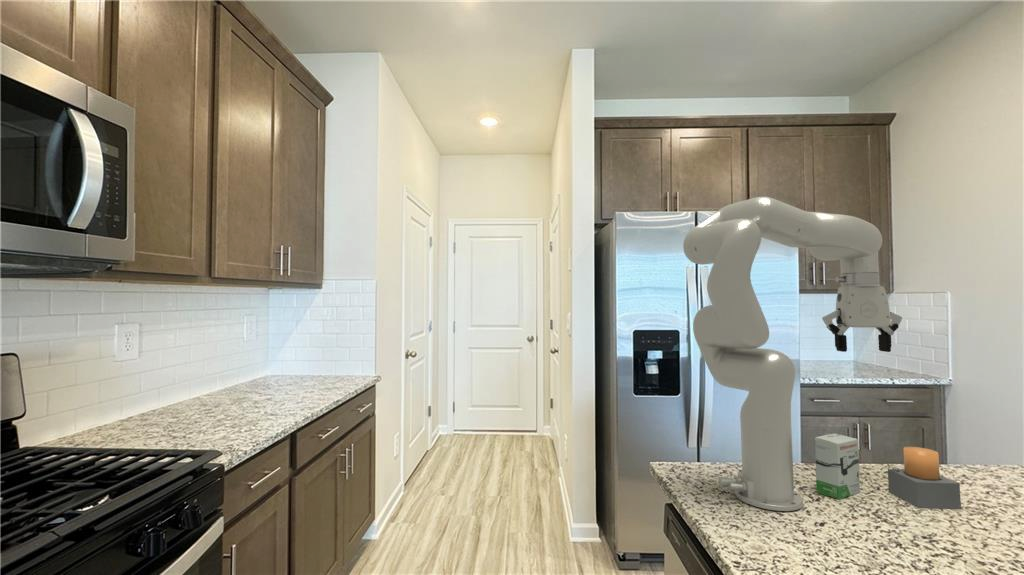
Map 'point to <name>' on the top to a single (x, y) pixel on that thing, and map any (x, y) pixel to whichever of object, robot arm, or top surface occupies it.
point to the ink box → (837, 465)
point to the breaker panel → (924, 490)
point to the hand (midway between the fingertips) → (863, 351)
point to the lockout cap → (921, 463)
